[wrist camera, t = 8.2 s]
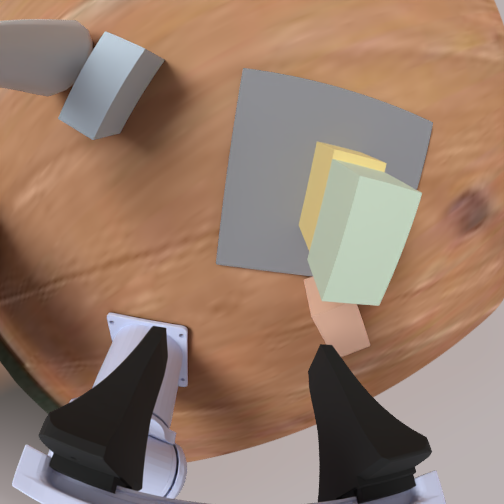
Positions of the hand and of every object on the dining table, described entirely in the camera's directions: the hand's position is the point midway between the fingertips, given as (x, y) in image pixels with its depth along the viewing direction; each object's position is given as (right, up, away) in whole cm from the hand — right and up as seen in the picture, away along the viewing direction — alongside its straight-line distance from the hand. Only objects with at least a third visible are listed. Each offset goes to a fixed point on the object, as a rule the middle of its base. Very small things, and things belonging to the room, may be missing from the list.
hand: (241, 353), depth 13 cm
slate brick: (-8, +16, +3) cm, 18 cm away
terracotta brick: (+7, +1, +10) cm, 13 cm away
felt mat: (+6, +9, +6) cm, 13 cm away
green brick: (+6, +7, +3) cm, 9 cm away
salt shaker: (-13, +19, +1) cm, 23 cm away
